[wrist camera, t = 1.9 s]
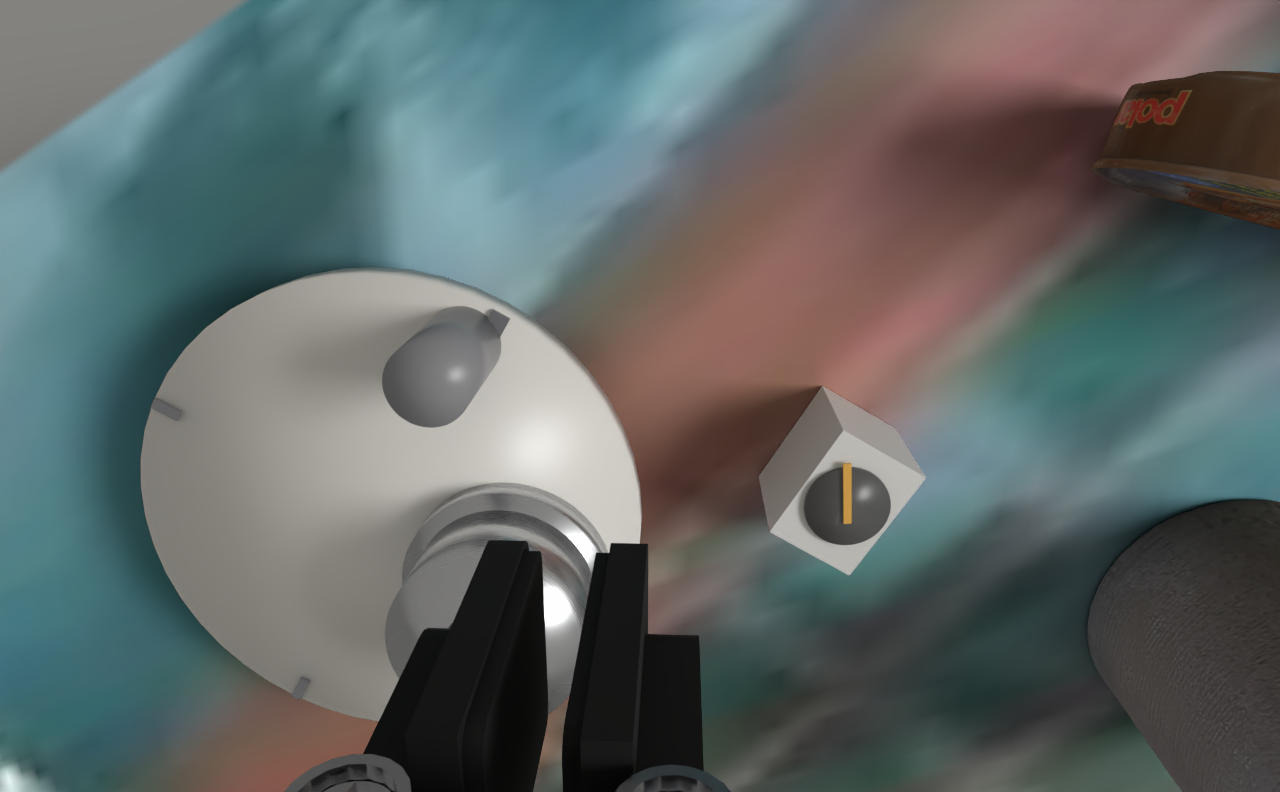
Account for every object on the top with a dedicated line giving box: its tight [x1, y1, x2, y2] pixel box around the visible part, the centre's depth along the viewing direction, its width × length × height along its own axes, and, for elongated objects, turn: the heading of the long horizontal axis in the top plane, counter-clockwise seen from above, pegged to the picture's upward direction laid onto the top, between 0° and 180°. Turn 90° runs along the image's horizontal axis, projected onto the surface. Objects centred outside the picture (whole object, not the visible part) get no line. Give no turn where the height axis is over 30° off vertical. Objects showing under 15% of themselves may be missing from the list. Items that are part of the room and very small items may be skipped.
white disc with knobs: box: [141, 267, 642, 722], centre depth 28 cm, size 17×17×6 cm
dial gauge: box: [759, 386, 926, 576], centre depth 28 cm, size 4×3×4 cm
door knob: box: [385, 483, 608, 714], centre depth 27 cm, size 7×7×4 cm
